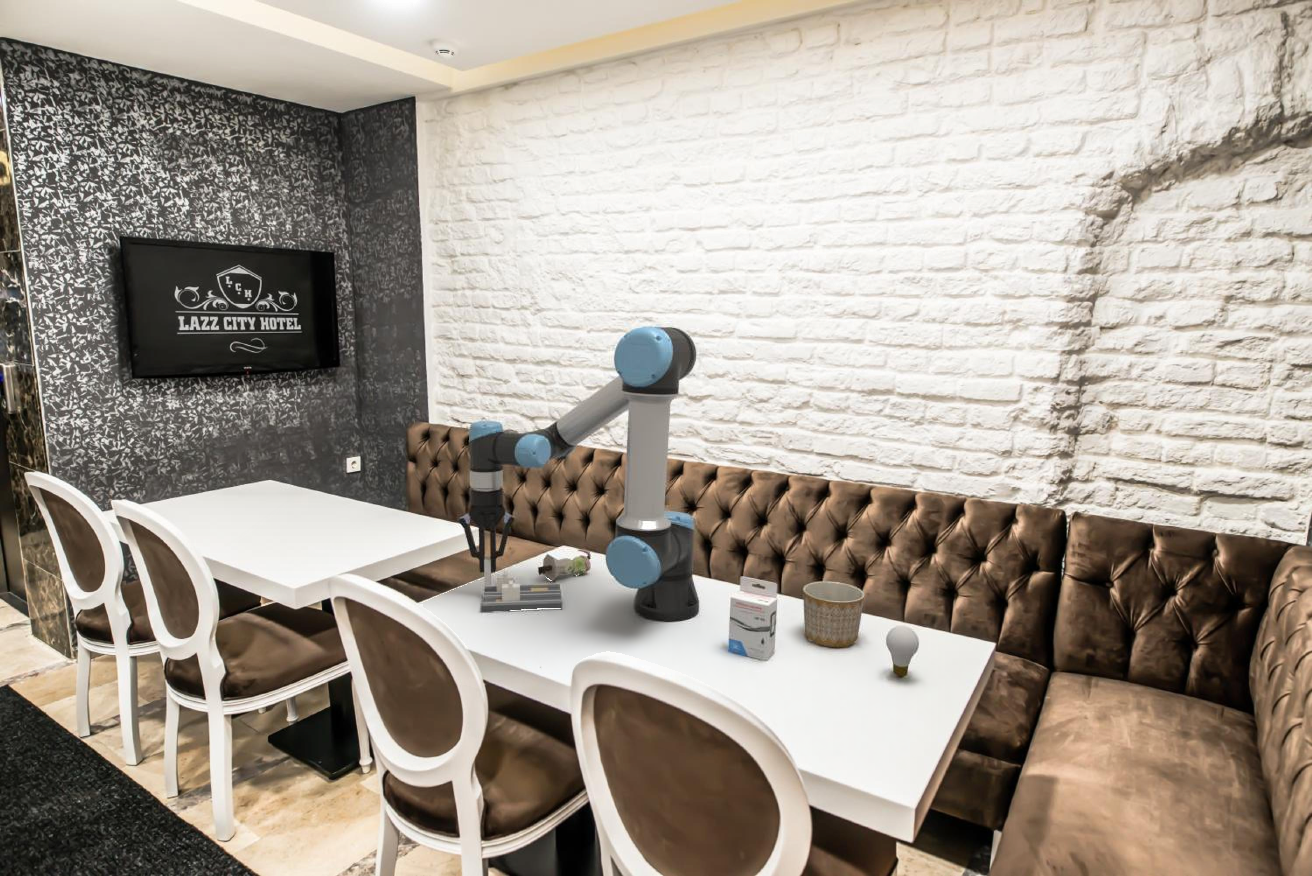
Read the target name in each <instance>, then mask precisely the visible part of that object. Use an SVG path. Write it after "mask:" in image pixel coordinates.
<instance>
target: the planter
mask: <svg viewBox="0 0 1312 876" xmlns="http://www.w3.org/2000/svg"><path fill="white" fill-rule="evenodd" d="M802 596H803V599H802V600H803V601H802V602H803V618H804V619H803V620H804V621H803V623H804V634H805V636H806V638H807V639H809V641H810V642H813V643H815V644H817V645H820V646H823V647H828V648H846V647H849V646H850V647H851V646H852V645H854V644H855V642H857V641H858V637H859V632H860V631H859V630H860V625H861V621H862V614H863V607H864V606H863V605H864V600H865V592H864V591H863V590H862V589H860V588H858V587H857V586H854V585H853V584H852V585H851V584H847V583H843V582H837V581H829V580H828V581H827V580H826V581H825V580H824V581H823V580H822V581H814V582H811V583H808V584H805V585H804V586H803V588H802Z"/></svg>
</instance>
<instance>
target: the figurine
mask: <svg viewBox="0 0 1312 876" xmlns="http://www.w3.org/2000/svg"><path fill="white" fill-rule="evenodd" d="M577 552H582V553H584V554H586V555H587V556H586V555H582V554H580V555H579V556H574V558H573V559H571V558H567V557H565V558H561V559H557V558H555V557H553V556H552V555H550V554H549V553H547V554H546V555H545V556H544V558H543V560H542V561H543V563H542V566H538V567H537V572H538V575H539V576H541V575H544V577H545V576H546V577H547V578H549V579H550V580H553V581H555V579H556V578H557V577H558V576H559V575H564V576H565V575H566V576H567V575H569V574H570V573H571V575H573V574H576V575H578V574H579V575H583V574H585V573H587V572H589V571H590V570H591V561H590V559H591V555H592V554H591V551H589V550H587V549H585V548H580V549H577ZM579 575H578V576H579Z"/></svg>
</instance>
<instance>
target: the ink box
mask: <svg viewBox="0 0 1312 876" xmlns="http://www.w3.org/2000/svg"><path fill="white" fill-rule="evenodd" d="M758 584H759V586H761V587H764V588H760V587H757V586H753V585H758ZM739 589H740V590H738V591H737V592H735V593H734V594H732V595H731V596H730V608H729V623H728V624H729V626H728V647H727V650H728V652H730V653H734V654H737V655H741V656H745V657H749V658H753V659H757V660H760V661H764V662H766V661H768V660H769V659H770V658H771V657H772V655H773V654H774V653H775V649H776V634H777V633H776V632H777V613H778V612H777V611H778V598H777V595H778V584H777V583H776V582H773V581H767V580H762V579H758V578H753V577H747V576H744V575H743V576H740V577H739Z"/></svg>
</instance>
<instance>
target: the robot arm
mask: <svg viewBox="0 0 1312 876" xmlns="http://www.w3.org/2000/svg"><path fill="white" fill-rule="evenodd" d="M696 361H697V349H696V345H695V343H694V341H693V339H692V338H691V336H690V335H689V334H688V333H686V332H685V331H684V330H682V329H680V328H678V327H677V328H676V327H673V326H671V327H668V326H664V327H663V326H661V327H660V326H652V325H649V326H642V327H637V328H634V329H631V330H630V331H628V332H626V333H625V334H624V335H623V336H622V337H621V338H620V340H619V341H618V343H617V344H616V348H615V351H614V355H613V363H614V364H613V365H614V369H615V371H616V373H617V374H618V375H617V377H615V378H614V379H612V380H611V381H609V382H608V383H607V384H605V385H604V386H603V387H601V388H600V389H598V390H597V391H595V392H594V393H593V394H591V395H590V396H589V397H588V398H586V399H584V400H583V401H581V402H580V403H579V404H577V405H576V406H575V407H573V408H572V409H570V411H568V412H567V413H565V414H564V415H562V416H561V417H560V418H559V419H558V420H556V421H555V422H553V423H552V424H550V425H549V426H548V427H545V428H542V429H537V430H533V431H527V432H522V433H521V432H507V431H504V429H503V428H504V427H503V424H502V423H501V422H500V421H496V420H495V421H493V420H492V421H491V420H485V421H484V420H483V421H481V420H480V421H475V422H472V423H471V424H470V426H469V437H468V439H469V440H468V446H469V447H468V449H469V462H470V463H469V465H470V466H469V485H470V486H469V487H471V488H470V491H469V492H470V493H469V495H470V497H469V499H470V500H469V501H470V503H469V504H470V505H469V509H468V510H467V513H466V514H465V515H461V516H460V517H459V519H458V523H459V524H460V525H461V527H462V528H463V532H464V533H465V538H466V541H467V545H468V548H469V553H470V555H471V556H470V557H472V558H473V559H474V558H476V559H478V562H479V563H478V567H479V572H480V573H484V574H483V575H484V579H483V580H484V588H485V587H491V586H492V573H495V572H496V571H497V559H498V558H499V557H503V556H504V553H505V550H506V544H507V541H508V536H509V532H510V529H511V526H512V525H513V524H514V522H515V515H514V514H509V513H508V512H506V510H507V509H506V507H505V506H504V488H503V486H504V466H510V467H511V466H513V467H519V468H520V467H521V468H526V469H541V468H544V467H545V466H546V464H547V463H549V461H551V460H555V459H561V458H564V457H566V456H568V455H570V454H572V453H573V452H574V450H575V449H576V446H577V445H580V443H582V442H584V440H585V441H586V439H588V438H589V437H590V436H591V435H593V434H595V433H596V432H597V431H599V430H601V429H602V428H604V427H605V426H606V425H607V424H609V423H611V422H612V421H614V420H615V419H616V418H618V417H619V416H621V415H622V414H624V413H625V412H627V411H628V415H627V416H628V419H627V436H626V439H627V440H626V455H625V456H626V457H625V459H626V460H625V479H624V480H625V481H624V500H623V501H624V503H623V513H622V514H620V516H618V517H617V518H616V520H615V521H616V522H615V536H614V537H615V538H614V539H613V540H612V541H610V543H609V545H608V546H607V548H606V550H605V563H606V567H607V570H608V572H609V573H610V575H611V576H612V577H613V578H614V579H615V581H616V582H617V583H619V584H620V585H621V586H623V587H626V588H629V589H637V591H636V593H635V596H634V599H633V610H634V612H635V613H636V614H637V615H639V616H641V617H643V618H645V619H649V620H654V621H660V622H677V621H683V620H688V619H691V618H693V617H695V616H696V615H698V614H699V611H700V599H699V596H698V593H697V589H696V586H695V581H694V579H693V572H694V571H693V567H694V542H695V531H696V529H695V521H694V520H695V519H694V518H693V516H692V515H691V514H689V513H686V512H682V511H681V512H679V511H674V510H665V506H666V489H667V487H666V486H667V471H668V452H669V437H670V435H669V434H670V433H669V432H670V421H671V420H670V419H671V418H670V417H671V416H670V415H671V403H672V402H673V400H674V399H675V398H677V397H678V396H679V393H680V392H679V389H680V381H682V380H683V379H684V378H686V377H687V376H689V374H690V373H691V372H692V371H693V369H694V367H695V365H696ZM503 518H504V519H503ZM502 519H503V522H504V527H503V532H502V536H501V540H500V544H499V547H498V550H497V534H496V533H497V532H496V531H497V530H496V529H497V526H498V524H500V521H501V520H502ZM471 520H472V521H473V522H474V524H475V525H476V526H477V527H478V550H477V546H476V543H475V539H474V538H475V537H474V536H473V532H472V531H473V530H472V528H471V525H470V523H471ZM486 528H489V540H490V541H489V548H490V550H489V553H490V554H489V556H486V536H485V531H486V530H485V529H486Z"/></svg>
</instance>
